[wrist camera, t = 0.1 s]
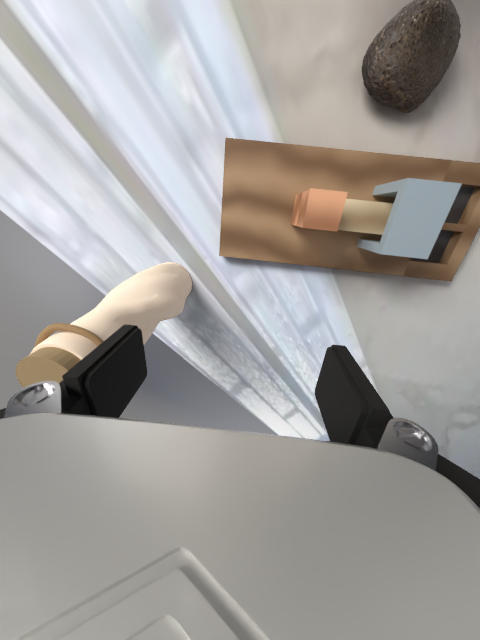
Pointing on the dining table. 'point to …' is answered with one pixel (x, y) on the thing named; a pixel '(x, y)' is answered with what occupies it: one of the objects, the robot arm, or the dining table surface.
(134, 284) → the water bottle
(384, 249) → the tunnel
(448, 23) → the stone
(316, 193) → the l-shaped wooden block
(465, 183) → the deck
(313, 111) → the dining table surface
